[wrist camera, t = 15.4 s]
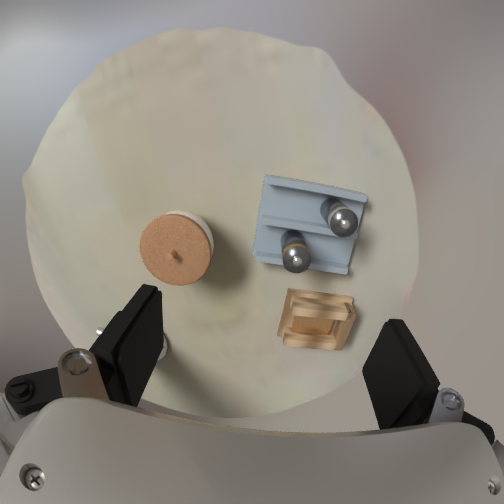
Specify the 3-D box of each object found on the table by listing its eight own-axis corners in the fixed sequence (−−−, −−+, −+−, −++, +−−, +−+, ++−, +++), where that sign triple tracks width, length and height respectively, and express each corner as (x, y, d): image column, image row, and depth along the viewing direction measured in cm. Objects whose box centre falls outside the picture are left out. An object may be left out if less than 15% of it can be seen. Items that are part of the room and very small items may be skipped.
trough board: (252, 253, 45) (251, 260, 43) (264, 174, 40) (264, 176, 38) (345, 267, 45) (349, 275, 43) (364, 193, 41) (370, 196, 38)
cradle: (277, 332, 51) (277, 348, 47) (288, 288, 47) (289, 302, 43) (336, 338, 51) (340, 353, 47) (351, 296, 48) (358, 310, 43)
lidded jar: (217, 202, 43) (205, 217, 34) (221, 264, 47) (211, 293, 38) (154, 204, 43) (129, 219, 34) (162, 263, 47) (141, 290, 38)
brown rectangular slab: (291, 328, 49) (291, 331, 48) (296, 308, 47) (297, 310, 46) (327, 332, 49) (328, 334, 48) (334, 312, 47) (335, 314, 46)
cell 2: (317, 219, 42) (328, 236, 34) (322, 195, 40) (335, 207, 33) (340, 223, 42) (355, 241, 34) (346, 200, 40) (363, 213, 33)
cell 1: (282, 227, 42) (285, 245, 35) (306, 231, 42) (315, 250, 35) (278, 250, 44) (280, 272, 36) (301, 254, 44) (308, 277, 36)
